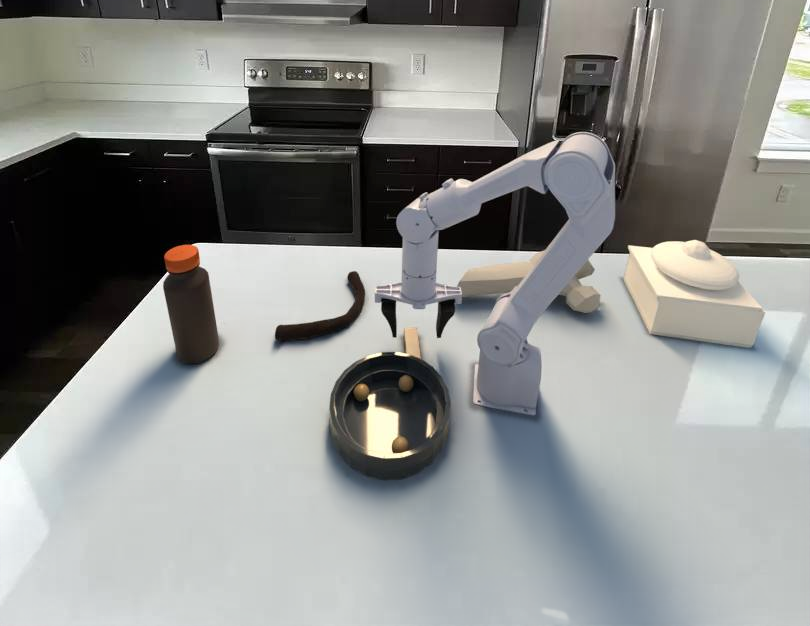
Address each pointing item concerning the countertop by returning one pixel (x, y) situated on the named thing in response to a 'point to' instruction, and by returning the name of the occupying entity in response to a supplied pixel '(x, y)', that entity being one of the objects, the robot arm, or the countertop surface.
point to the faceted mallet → (512, 274)
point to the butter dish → (691, 294)
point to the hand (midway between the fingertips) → (416, 333)
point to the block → (411, 342)
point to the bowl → (389, 415)
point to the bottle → (190, 305)
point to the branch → (326, 325)
